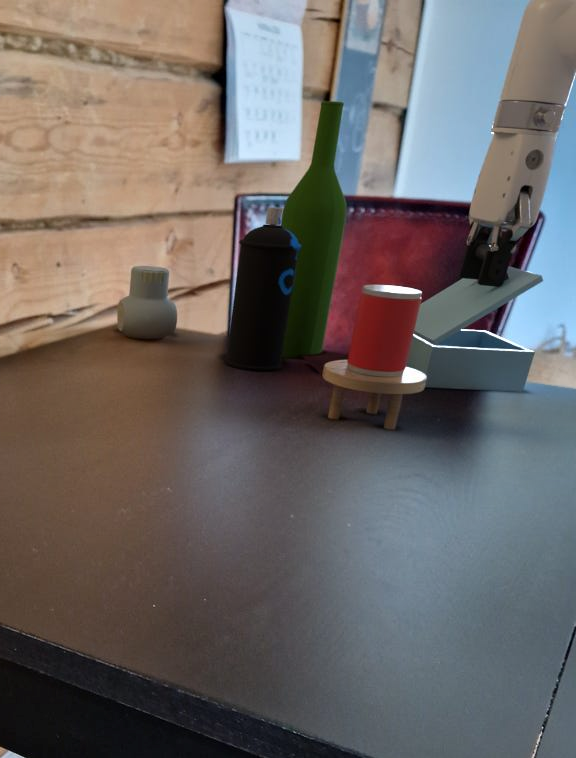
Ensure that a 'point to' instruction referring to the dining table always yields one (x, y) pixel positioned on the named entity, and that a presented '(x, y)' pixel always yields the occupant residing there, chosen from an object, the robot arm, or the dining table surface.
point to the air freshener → (147, 305)
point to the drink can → (383, 330)
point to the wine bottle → (315, 238)
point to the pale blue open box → (472, 362)
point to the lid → (468, 302)
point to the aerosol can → (262, 296)
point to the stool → (372, 388)
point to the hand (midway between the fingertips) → (480, 280)
